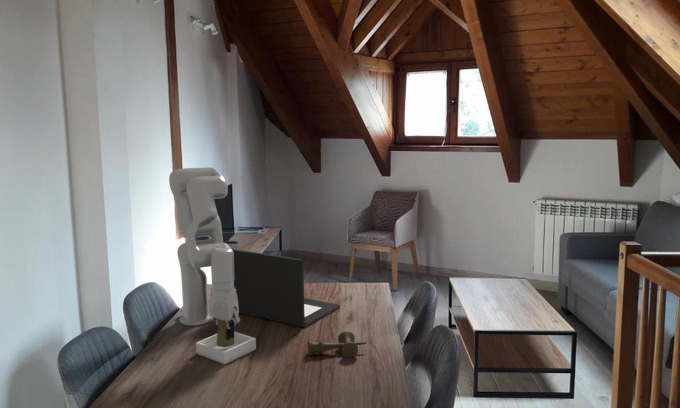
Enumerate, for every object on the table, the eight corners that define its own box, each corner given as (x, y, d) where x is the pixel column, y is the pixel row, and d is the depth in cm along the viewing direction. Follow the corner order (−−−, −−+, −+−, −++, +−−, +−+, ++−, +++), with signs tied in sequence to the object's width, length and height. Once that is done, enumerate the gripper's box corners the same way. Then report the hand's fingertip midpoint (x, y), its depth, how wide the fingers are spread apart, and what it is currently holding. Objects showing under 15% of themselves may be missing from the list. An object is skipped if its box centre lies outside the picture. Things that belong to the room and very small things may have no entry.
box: (196, 353, 179) (196, 342, 178) (228, 339, 190) (227, 329, 189) (224, 364, 170) (224, 352, 170) (256, 349, 182) (255, 338, 181)
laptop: (340, 308, 222) (339, 245, 218) (303, 330, 199) (301, 260, 195) (270, 294, 241) (269, 236, 237) (229, 312, 218) (226, 249, 214)
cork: (230, 347, 176) (229, 315, 175) (213, 346, 177) (211, 314, 176) (237, 340, 182) (236, 309, 180) (220, 339, 183) (219, 308, 182)
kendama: (307, 350, 182) (364, 345, 184) (309, 363, 172) (369, 357, 175) (306, 334, 181) (363, 328, 183) (308, 346, 171) (369, 340, 174)
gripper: (198, 283, 178) (201, 335, 181) (232, 292, 169) (234, 346, 171) (215, 278, 184) (218, 328, 187) (249, 286, 175) (251, 339, 177)
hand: (226, 336), depth 179 cm, fingers closed on cork, 3 cm apart
